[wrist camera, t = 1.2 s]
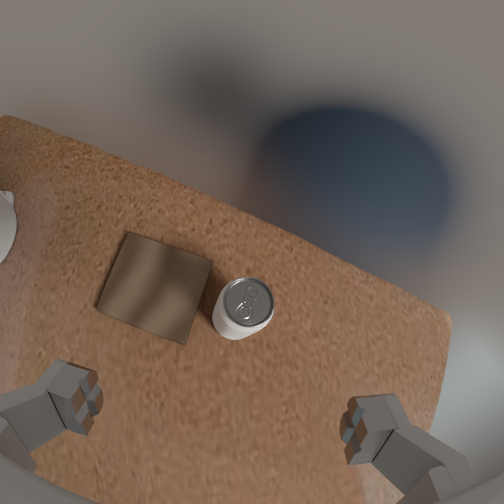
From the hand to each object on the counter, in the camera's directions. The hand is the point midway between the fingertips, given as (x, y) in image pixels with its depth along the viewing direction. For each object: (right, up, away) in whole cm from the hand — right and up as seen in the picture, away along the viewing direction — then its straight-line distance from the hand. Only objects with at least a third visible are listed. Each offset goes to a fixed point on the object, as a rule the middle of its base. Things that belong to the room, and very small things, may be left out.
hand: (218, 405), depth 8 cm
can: (-2, -5, +34) cm, 35 cm away
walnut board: (-13, -1, +34) cm, 36 cm away
